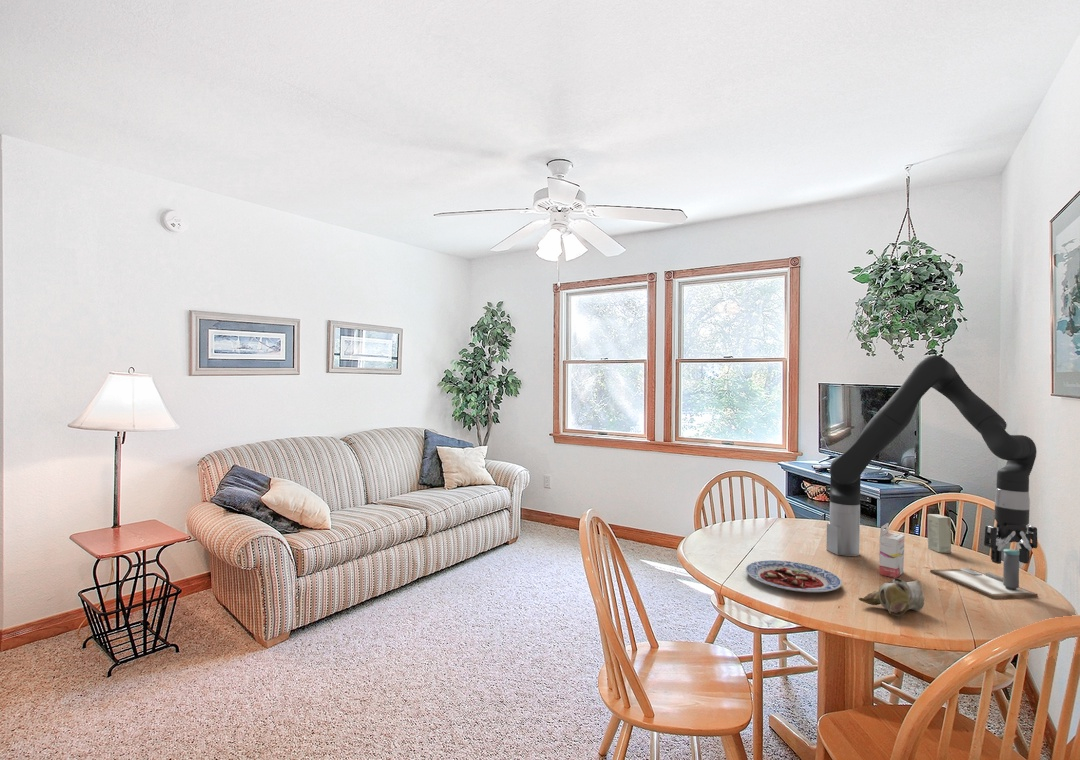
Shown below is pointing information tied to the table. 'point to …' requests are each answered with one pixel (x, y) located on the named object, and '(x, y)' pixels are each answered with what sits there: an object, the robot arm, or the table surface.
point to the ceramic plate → (793, 576)
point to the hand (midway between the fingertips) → (1010, 562)
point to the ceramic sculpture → (897, 596)
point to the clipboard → (982, 583)
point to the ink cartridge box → (891, 553)
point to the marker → (1011, 569)
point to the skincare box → (939, 533)
